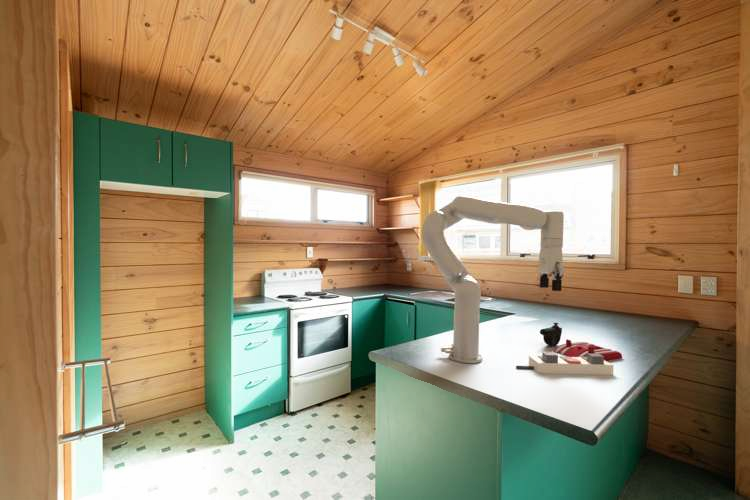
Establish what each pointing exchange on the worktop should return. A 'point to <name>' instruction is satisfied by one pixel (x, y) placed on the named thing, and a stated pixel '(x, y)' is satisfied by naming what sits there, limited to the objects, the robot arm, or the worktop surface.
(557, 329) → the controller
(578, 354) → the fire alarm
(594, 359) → the button
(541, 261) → the robot arm
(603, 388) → the worktop surface
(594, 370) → the button panel
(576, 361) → the button
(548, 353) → the button
